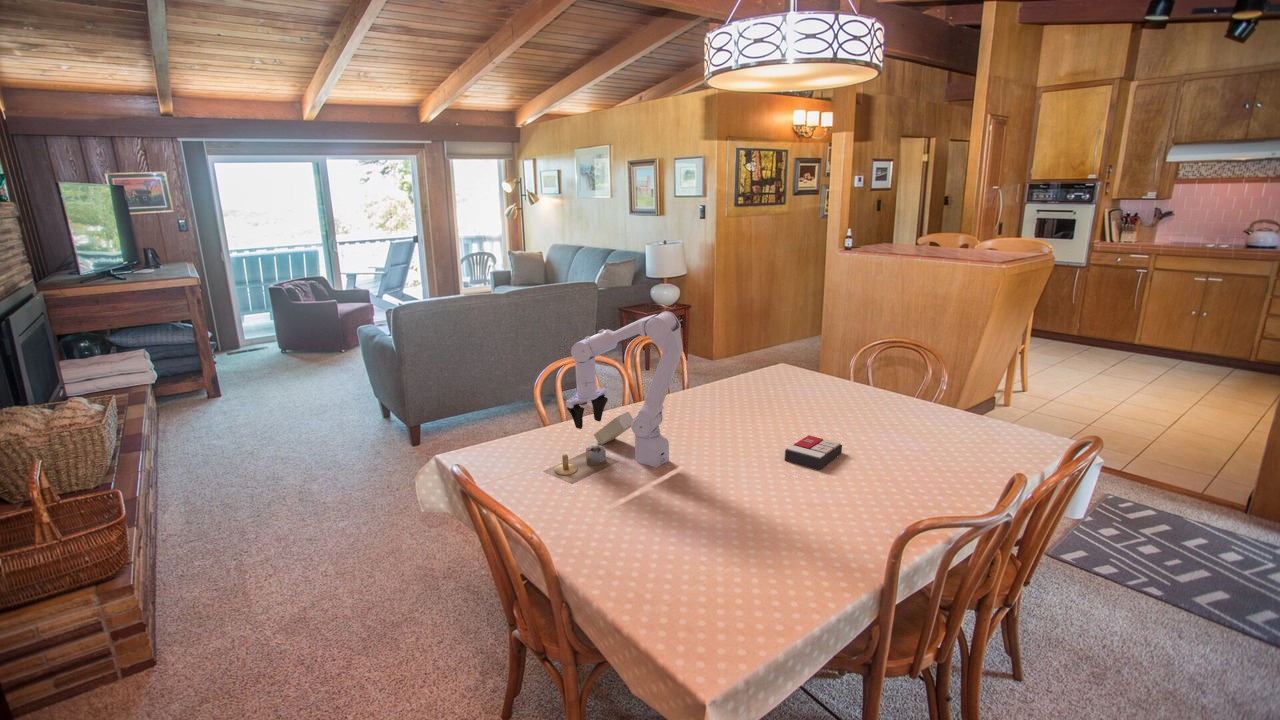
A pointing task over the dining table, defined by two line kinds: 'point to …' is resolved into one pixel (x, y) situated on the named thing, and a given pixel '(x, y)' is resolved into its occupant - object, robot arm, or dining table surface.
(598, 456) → the collar
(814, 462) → the calculator
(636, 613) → the dining table surface
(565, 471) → the board
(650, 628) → the dining table surface
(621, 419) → the skincare box
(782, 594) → the dining table surface
